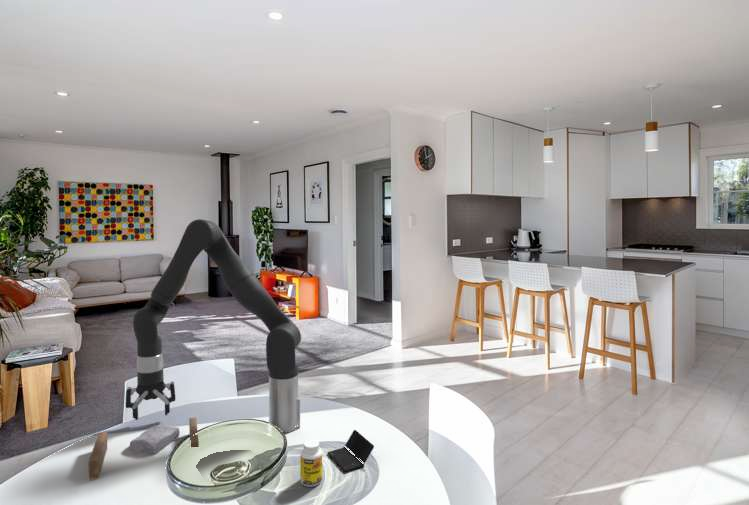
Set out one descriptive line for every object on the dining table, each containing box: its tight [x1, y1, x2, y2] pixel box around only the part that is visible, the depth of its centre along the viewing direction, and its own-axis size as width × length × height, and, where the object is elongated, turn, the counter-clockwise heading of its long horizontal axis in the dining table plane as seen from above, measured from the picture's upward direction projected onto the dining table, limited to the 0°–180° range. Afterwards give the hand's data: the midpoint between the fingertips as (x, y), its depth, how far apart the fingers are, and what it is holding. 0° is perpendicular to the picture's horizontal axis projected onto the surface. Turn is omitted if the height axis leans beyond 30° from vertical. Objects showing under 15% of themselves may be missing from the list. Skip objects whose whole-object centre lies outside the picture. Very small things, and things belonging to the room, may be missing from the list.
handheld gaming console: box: [327, 429, 375, 474], centre depth 125 cm, size 12×7×10 cm
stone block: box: [129, 424, 180, 455], centre depth 132 cm, size 12×5×10 cm
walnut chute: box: [88, 417, 200, 481], centre depth 126 cm, size 26×16×5 cm, turn 114°
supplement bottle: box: [299, 439, 323, 488], centre depth 114 cm, size 6×6×10 cm
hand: (151, 416), depth 144 cm, fingers open, 8 cm apart
